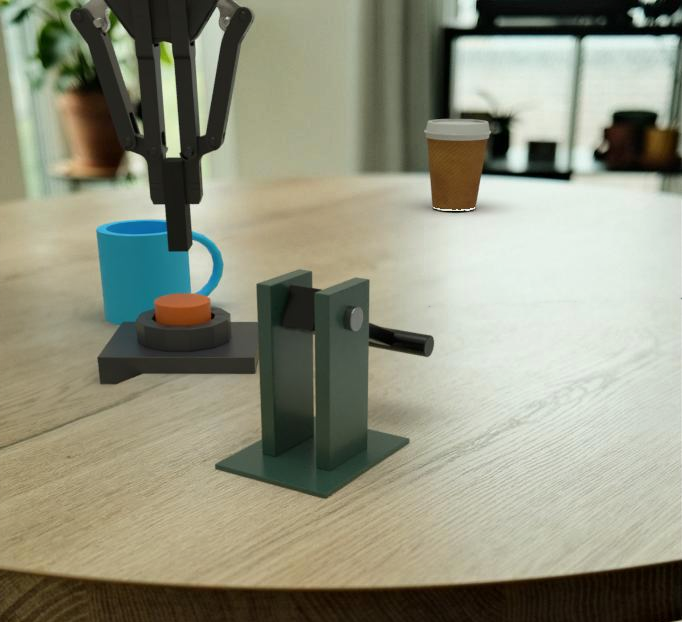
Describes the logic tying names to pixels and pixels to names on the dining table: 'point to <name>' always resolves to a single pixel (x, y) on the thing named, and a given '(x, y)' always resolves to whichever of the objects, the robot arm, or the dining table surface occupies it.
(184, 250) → the robot arm
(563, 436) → the dining table surface
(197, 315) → the button
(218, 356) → the control block
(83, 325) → the dining table surface
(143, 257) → the mug
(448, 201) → the disposable coffee cup
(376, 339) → the switch lever
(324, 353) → the green crank press stand
